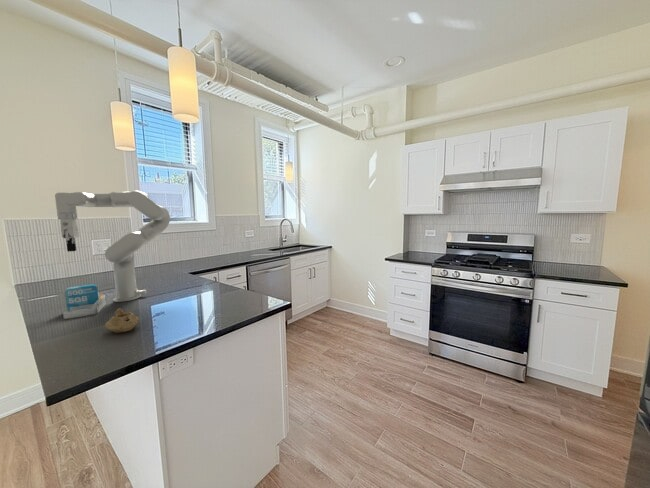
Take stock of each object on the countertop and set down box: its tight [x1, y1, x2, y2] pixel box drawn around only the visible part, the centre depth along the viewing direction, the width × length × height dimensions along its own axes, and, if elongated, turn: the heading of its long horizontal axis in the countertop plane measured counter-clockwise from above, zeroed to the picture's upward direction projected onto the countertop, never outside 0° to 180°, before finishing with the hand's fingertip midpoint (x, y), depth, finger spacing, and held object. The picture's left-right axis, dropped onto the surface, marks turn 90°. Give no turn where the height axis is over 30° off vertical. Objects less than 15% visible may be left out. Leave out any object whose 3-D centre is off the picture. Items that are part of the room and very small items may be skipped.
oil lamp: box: [104, 307, 140, 334], centre depth 108 cm, size 11×15×8 cm
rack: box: [62, 293, 107, 320], centre depth 134 cm, size 12×18×5 cm, turn 29°
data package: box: [64, 283, 99, 312], centre depth 136 cm, size 12×4×12 cm, turn 132°
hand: (71, 251), depth 143 cm, fingers closed
